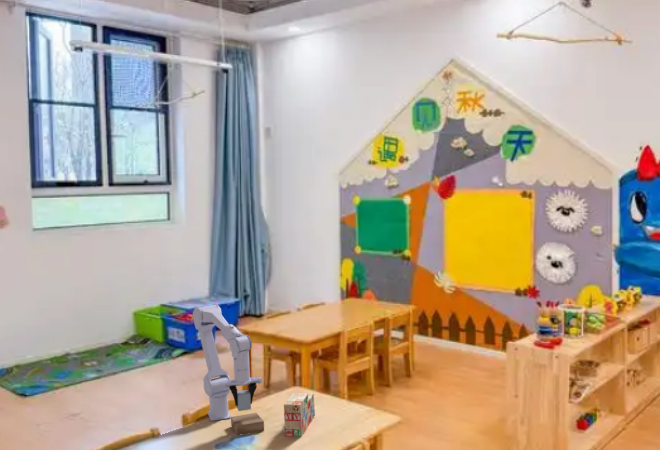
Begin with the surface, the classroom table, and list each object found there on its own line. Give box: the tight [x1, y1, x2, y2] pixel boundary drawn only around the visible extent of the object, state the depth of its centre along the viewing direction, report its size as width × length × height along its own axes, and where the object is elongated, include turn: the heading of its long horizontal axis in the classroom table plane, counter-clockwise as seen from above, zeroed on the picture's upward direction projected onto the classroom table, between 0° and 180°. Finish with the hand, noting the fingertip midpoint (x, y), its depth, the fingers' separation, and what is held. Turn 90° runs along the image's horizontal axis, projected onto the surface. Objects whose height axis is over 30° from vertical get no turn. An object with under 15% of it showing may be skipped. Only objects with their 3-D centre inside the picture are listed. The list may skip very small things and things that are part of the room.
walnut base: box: [230, 412, 265, 436], centre depth 253 cm, size 10×10×4 cm
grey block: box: [236, 389, 252, 412], centre depth 252 cm, size 5×5×6 cm
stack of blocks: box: [283, 392, 316, 438], centre depth 253 cm, size 21×6×12 cm, turn 168°
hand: (243, 404), depth 252 cm, fingers closed on grey block, 5 cm apart
